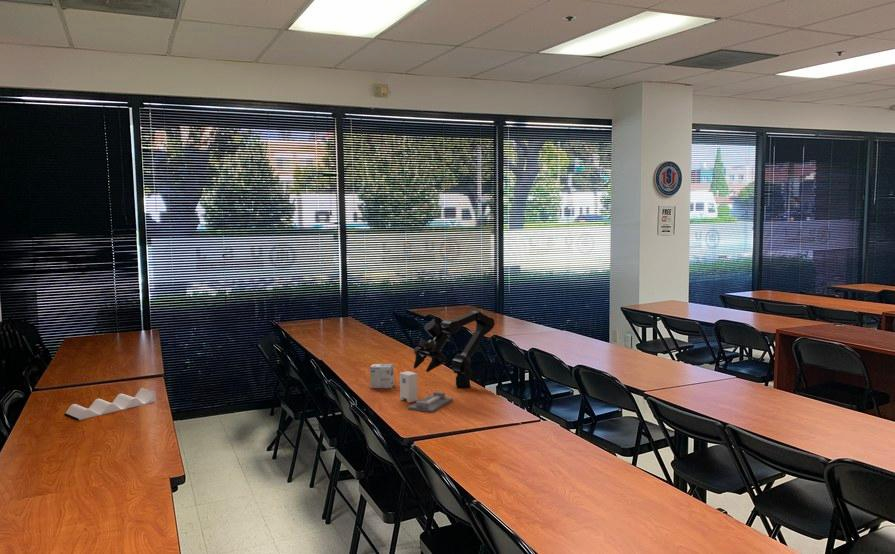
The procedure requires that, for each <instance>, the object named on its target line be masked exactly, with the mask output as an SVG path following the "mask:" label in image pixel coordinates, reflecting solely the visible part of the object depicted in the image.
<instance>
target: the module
mask: <svg viewBox="0 0 895 554" xmlns="http://www.w3.org/2000/svg"><path fill="white" fill-rule="evenodd" d="M399 396H400V397H399V398H400V400H401V401H405V400H406V402H407V403H413V402H417V401H419V399H418V398H419V397H418V373H416V372H413V371H409V370H408V371H407V370H406V371H403V372H399Z"/></svg>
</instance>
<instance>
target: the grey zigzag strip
mask: <svg viewBox="0 0 895 554" xmlns="http://www.w3.org/2000/svg"><path fill="white" fill-rule="evenodd" d="M155 402H156V391H152V390H149V389H147V388H143V387H140V389H139V390H138V392H137V393H136V394H135V396H134V397H133V396H130V395H127V394H124V393H118V395H116V397H115V398H114V400H113V401H112V402H110V401H106V400H104V399H101V398H96V399H95V400H94V401H93V402H92V404H91V405H90V406H89V407H88V408H87V407H84V406H82V405H80V404H76V403H72V404H71V405H70V406H69V407H68V409H67V410H66V412H65V413H64V415H63V416H66V417H68V418H71V419H73V420H75V421H81V420H85V419H89V418H94V417H97V416H101V415H105V414H106V415H107V414H110V413H115V412H119V411H123V410H127V409H132V408H134V407H135V408H136V407H140V406H143V405H147V404H151V403H155Z"/></svg>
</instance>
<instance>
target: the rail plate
mask: <svg viewBox="0 0 895 554" xmlns="http://www.w3.org/2000/svg"><path fill="white" fill-rule="evenodd" d="M452 400H454V399H453V398H452V397H446V393H445V392H444V391H443V392H440V391H434V392H433V395H431V394H429V395H428V396H426V397H424V398H422V399H419V400H417V401H415V403H412V404H411V405H408V407H407V410H413V411H419V412H425V411H426V412H427V413H434V412H436V411H437V410H438V409H441V408H443V407H444V406H445V405H447V404H449V403H452V402H453V401H452ZM435 410H436V411H435Z"/></svg>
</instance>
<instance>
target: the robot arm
mask: <svg viewBox="0 0 895 554" xmlns="http://www.w3.org/2000/svg"><path fill="white" fill-rule="evenodd" d="M473 322H475V323H476V324H475V331H474V333H473V334H472V336H471V338H469V339H470V340H469V341H468V343H467V344H466V346H465V348H464V349H463V351H462V352H461V353H460V354H459V353H456V354H455V355H454V358H453V359H452V360H451V367H452V368H451V369H452V371H453V374H456V376H455V386H456V387H457V388H459V389H462V388H463V389H464V388H471V376H472V375H473V374H474V369H473V368H472V367H471V364H472V363H471V361H472V357H473V355H474V353H475V352H476V350H477V349H478V348H479V346H480V343H481V342H482V340H483V338H484V336H486V335H487V334H489V333H490V332H491V331H492V330H493V329H494V327H495V325H496V323H495V320H494V318H493V317H489V316H488V315H486V314H484V313H483V312H481V311H479V310H472V311H470V312H469V313H466V314H464V315H462V316H459V317H457V318H454V319H447V320H446V319H445V320H443V321H442V322H441V323H439V322H438V320H437V319H435V318H432V319H431V320H430V321H428V322H427V323H426V324H425V325H424V330H425V331H426V332H427V333H428V334H429V336H430V337H432V338H433V339H429V340H426V339H419V343H418V346H416V347H414V349H413V352H414V354H415V360H414V363H413V369H415V370H416V369H417V368H418V367H419V366H420V365H421V364H422V363H423V362H424V361H426V360H425V359H426V358H427V357H428V358H431V361H429V362H430V363H429V364H428V366H427V368H426V370H425V371H426V372H427V373H429V372H430V371H432V370H435V368H437V367H439V366H442V365H443V364H444V365H445V364H446V363H447V361H448V359H447V356H445V354H444V353H442V351H444V348H443V347H444V346H445V345H446V343H447V342H452V338H451V337H452V335H453V334H455V333H457V332H458V331H459V330H460V328H461V327H463V326H466V325H469V324H471V323H473ZM448 334H451V335H448Z"/></svg>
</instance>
